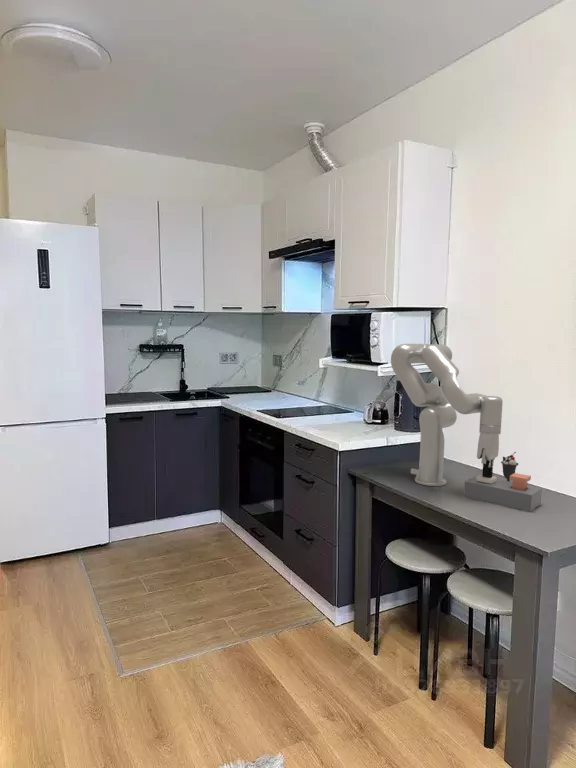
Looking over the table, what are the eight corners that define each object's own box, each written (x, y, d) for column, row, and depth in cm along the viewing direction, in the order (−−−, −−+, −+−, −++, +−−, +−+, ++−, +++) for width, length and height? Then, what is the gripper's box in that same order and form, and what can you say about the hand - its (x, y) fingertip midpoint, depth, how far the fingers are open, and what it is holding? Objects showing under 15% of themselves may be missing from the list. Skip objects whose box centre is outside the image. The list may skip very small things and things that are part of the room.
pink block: (508, 495, 194) (509, 475, 193) (513, 492, 198) (514, 472, 198) (524, 499, 191) (526, 478, 190) (529, 495, 195) (530, 475, 194)
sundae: (518, 490, 212) (521, 453, 210) (500, 489, 213) (503, 452, 212) (515, 485, 218) (517, 449, 217) (497, 484, 219) (500, 448, 218)
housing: (463, 496, 202) (464, 481, 201) (476, 490, 211) (477, 475, 210) (530, 511, 186) (531, 495, 186) (540, 503, 195) (541, 488, 195)
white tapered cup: (475, 496, 202) (476, 476, 201) (481, 493, 206) (482, 474, 206) (490, 499, 199) (491, 479, 198) (495, 496, 203) (496, 476, 202)
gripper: (487, 425, 208) (484, 471, 210) (472, 430, 197) (469, 478, 198) (507, 428, 203) (504, 475, 205) (492, 433, 192) (489, 483, 194)
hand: (487, 476), depth 202 cm, fingers closed
